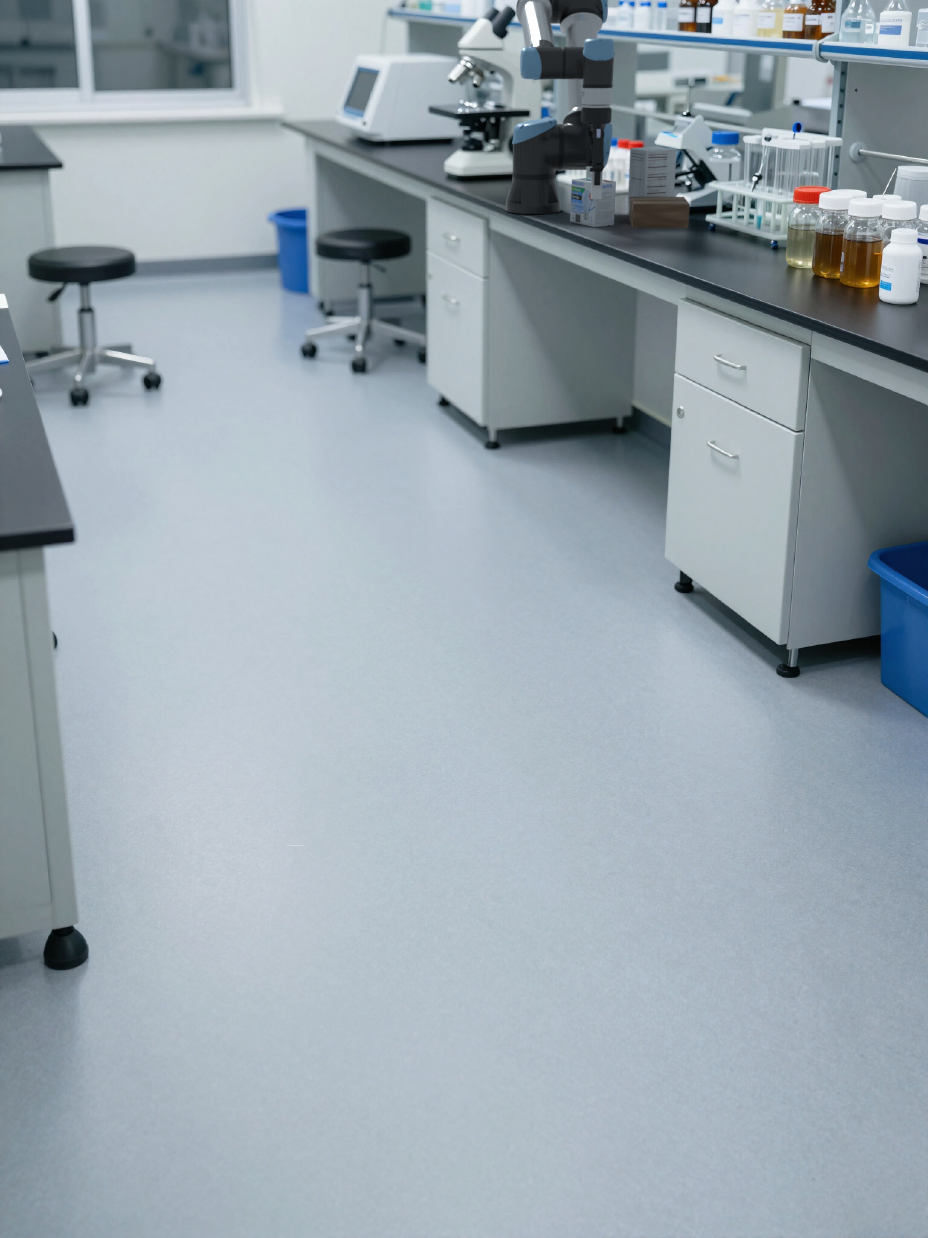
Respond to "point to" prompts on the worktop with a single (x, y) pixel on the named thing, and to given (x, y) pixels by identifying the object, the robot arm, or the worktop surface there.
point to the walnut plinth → (659, 212)
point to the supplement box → (651, 172)
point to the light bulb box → (592, 203)
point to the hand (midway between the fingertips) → (593, 195)
